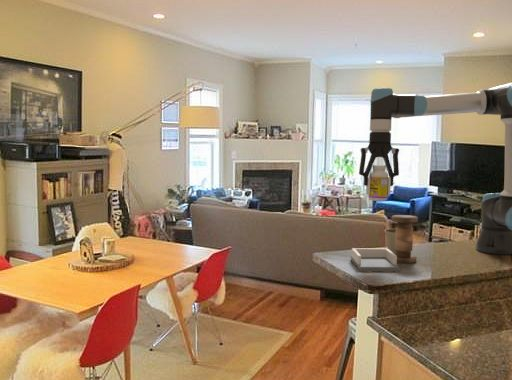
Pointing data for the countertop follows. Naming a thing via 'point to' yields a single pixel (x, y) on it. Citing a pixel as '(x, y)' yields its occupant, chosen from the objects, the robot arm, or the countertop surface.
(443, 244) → the countertop surface
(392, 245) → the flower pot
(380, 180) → the supplement bottle
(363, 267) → the grey shallow tray
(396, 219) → the spool post
